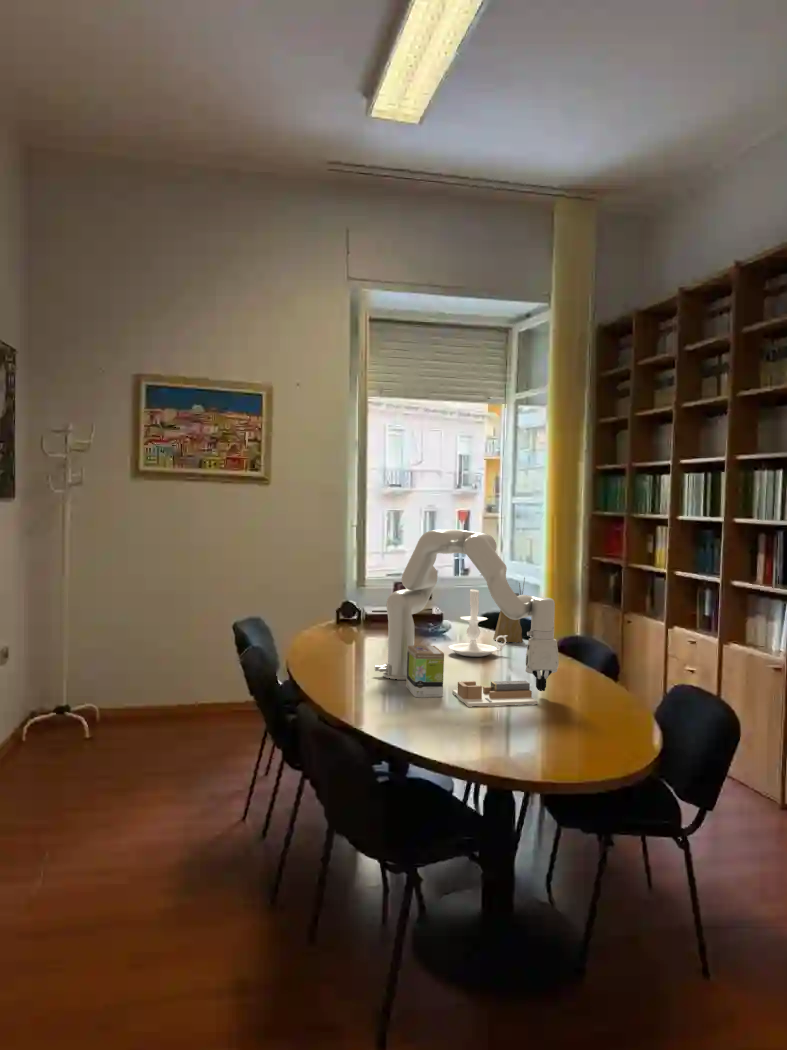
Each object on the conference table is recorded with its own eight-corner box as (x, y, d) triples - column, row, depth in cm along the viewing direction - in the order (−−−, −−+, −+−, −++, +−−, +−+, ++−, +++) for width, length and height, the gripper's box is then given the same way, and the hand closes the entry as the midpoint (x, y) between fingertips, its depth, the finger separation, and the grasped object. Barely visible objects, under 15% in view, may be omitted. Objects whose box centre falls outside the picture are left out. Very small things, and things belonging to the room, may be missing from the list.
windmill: (520, 645, 364) (522, 579, 363) (489, 643, 368) (490, 577, 367) (526, 637, 384) (528, 574, 383) (496, 635, 388) (498, 573, 387)
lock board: (468, 707, 254) (468, 690, 254) (452, 693, 271) (452, 677, 271) (537, 704, 258) (537, 688, 258) (517, 691, 276) (517, 676, 276)
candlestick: (511, 660, 329) (513, 592, 328) (451, 659, 328) (452, 591, 327) (502, 650, 350) (504, 586, 349) (445, 650, 349) (447, 585, 348)
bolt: (494, 696, 263) (494, 684, 263) (490, 693, 267) (490, 681, 267) (529, 695, 265) (529, 683, 265) (524, 692, 269) (525, 680, 269)
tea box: (443, 697, 266) (444, 652, 265) (413, 698, 264) (414, 653, 264) (434, 686, 281) (435, 644, 280) (405, 687, 279) (406, 644, 279)
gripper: (525, 637, 262) (523, 693, 263) (568, 636, 265) (566, 692, 266) (516, 633, 270) (515, 688, 270) (558, 632, 273) (557, 686, 273)
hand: (540, 690), depth 268 cm, fingers closed
